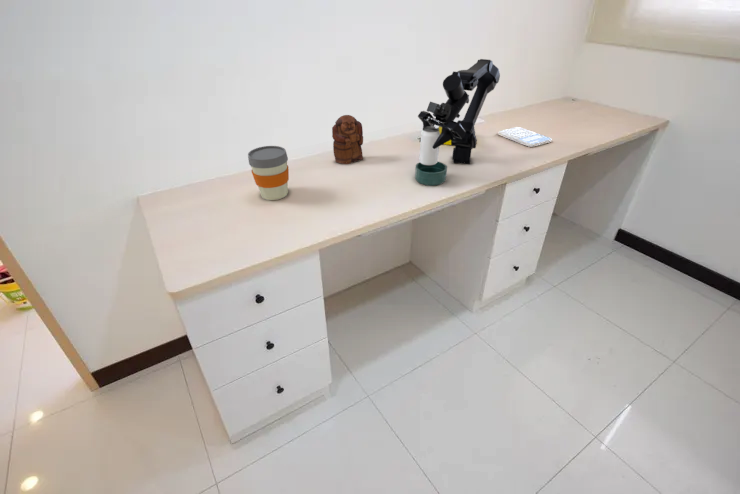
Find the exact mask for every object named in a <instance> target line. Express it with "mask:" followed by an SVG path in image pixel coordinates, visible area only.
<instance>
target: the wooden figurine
mask: <svg viewBox="0 0 740 494" xmlns="http://www.w3.org/2000/svg"><path fill="white" fill-rule="evenodd" d="M363 130H364V129H363V124H362V123H361V122H360V121H359V120H357V119H356V117H355V116H353V115H350V114H343V115H341V116H340V117H339V118H337V119H336V120H335V124H334V125H332V127H331V138H332V139H333V143H332V146H333V147H332V150H333V156H334V160H335V162H336V163H338V164H342V165H350V164H351V163H356V162H358V161H361V160H363V159H364V158H363V156H364V155H363V149H362V146H363V144H364V136H363V134H364V131H363Z"/></svg>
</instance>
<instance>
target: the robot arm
mask: <svg viewBox="0 0 740 494" xmlns="http://www.w3.org/2000/svg"><path fill="white" fill-rule="evenodd" d="M500 77H501V73H500V69H499V68H498V67H497V66H496V65H495V64H494V63H493V60H491V59H486V58H480V59H478V60H477V61H476V63H474V64H473V65H472V66H470V67H469V68H467V69H461V70H457V71H452V73H451V74H450V75H447V76H446V77H445V79H443V81H442V88H443V90H444V92H445V94H446V97H447V98H448V99H447V100H446V102H441V103H440V104H439V103H437V102H433V101H429V103H428V106H427V109H426V111H425V110H421V111H420V112H419V113H418V115H417V118H418V119H419V120H420V121H421V122H422V129H423V128H424V127H427V126H434V127H435V126H436V127H439V126H440V127H442V131H441V134H440V135H439V137H438V138H437V140H436V142H435V143H434V145H433V149H435V148H437V147H439V148H440V147H441V146H442V145H445V144H444V143H446V142H448V141H450V140H451V145H450V146H452V147H453V146H454V147H453V148H452V156H451V159H452V161H453V163H454V164H465V165H466V164H468V165H469V164H471V157H472V150H473V149H476V148H477V142H478V138H477V135H476V129H475V125H476V122H477V120H478V117H479V115H480V113H481V110H482V107H483V106H484V104H485V101H486V98H487V96H488V94H489V93H491V92H492V91H494V90H495V88H496V86H497V84H499V82H500V79H501V78H500ZM475 88H476V89H475ZM474 89H475V91H474V93H473V96H472V97H471V100H470V94H469V93H468V92H472V91H473V90H474ZM467 91H468V92H467ZM466 104H469V105H468V107H467V110H466V113H465V115H464V117H463V119H462V120H460V119H459V118H460V116H461V115H460V112H461V111H462V109H463V108H464V107H465V105H466ZM431 113H432V114H431ZM456 119H459V120H457V121H455V120H456ZM420 141H421V136H420V137H419V143H420Z"/></svg>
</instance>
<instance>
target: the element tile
mask: <svg viewBox="0 0 740 494" xmlns="http://www.w3.org/2000/svg"><path fill="white" fill-rule="evenodd" d="M437 128H439V132H440V134H441V131H442V127H440V126H437ZM443 145H446V146H452V145H451V140H450V141H448V142H446V143H444V144H443Z"/></svg>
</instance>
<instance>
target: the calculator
mask: <svg viewBox="0 0 740 494" xmlns="http://www.w3.org/2000/svg"><path fill="white" fill-rule="evenodd" d="M498 136H500V137H503V138H505V139H508V140H511V141H513V142H516V143H518V144H521V145H523V146H526V147H527V148H528V147H529V148H535V147H539V146H541V145H546V144H549V143H551V142H552V141H553V139H552V138H551V137H549V136H546V135H543V134H540V133H538V132H535V131H532V130H529V129H526V128H523V127H520V126H515V127H511V128H507V129H503V130H499V131H498Z"/></svg>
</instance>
